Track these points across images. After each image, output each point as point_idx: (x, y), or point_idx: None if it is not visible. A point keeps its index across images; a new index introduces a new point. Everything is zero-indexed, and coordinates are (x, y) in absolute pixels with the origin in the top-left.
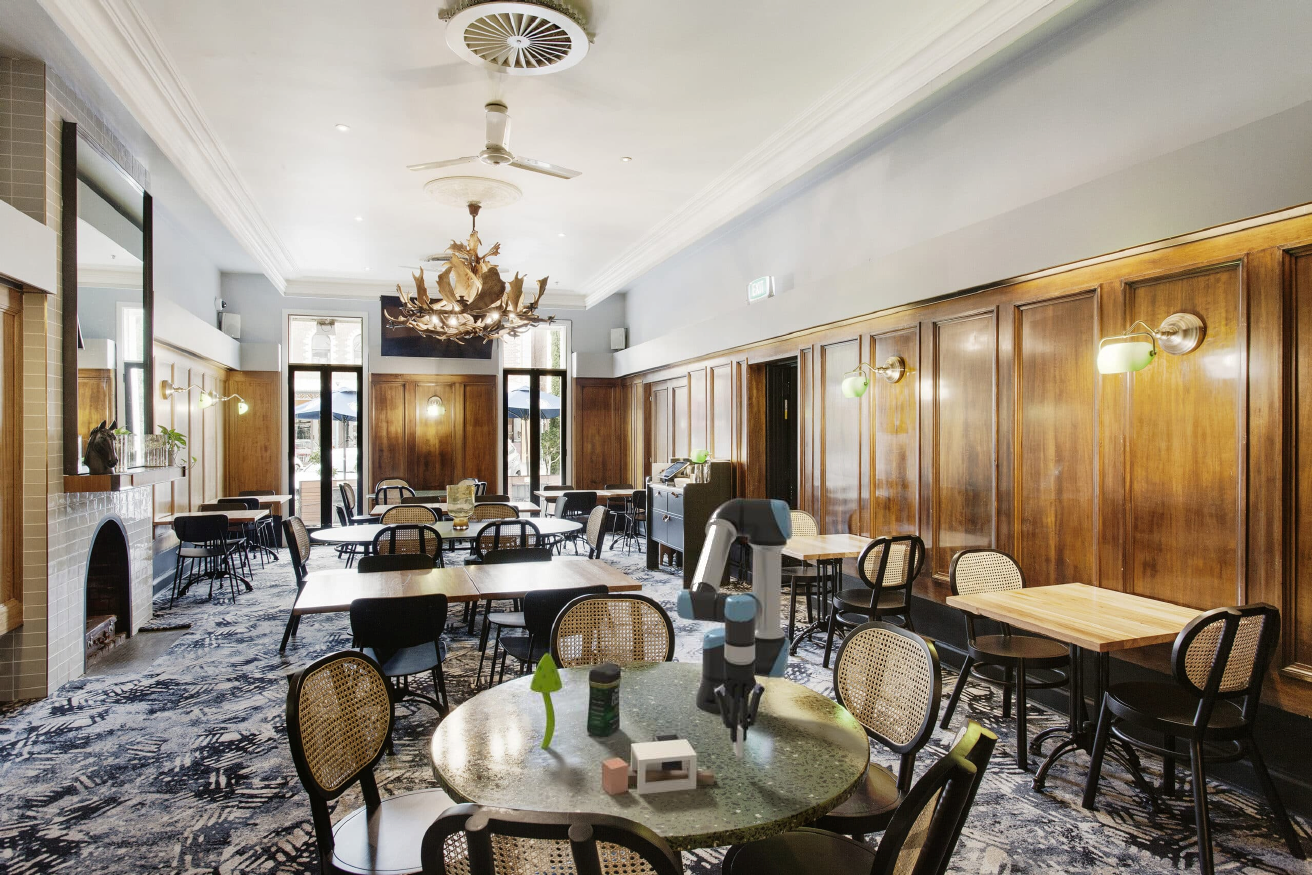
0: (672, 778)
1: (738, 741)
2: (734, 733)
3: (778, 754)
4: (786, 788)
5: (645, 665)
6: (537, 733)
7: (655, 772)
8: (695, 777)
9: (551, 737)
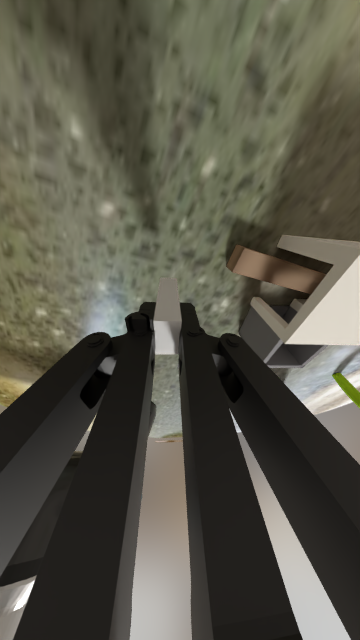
0: (313, 270)
1: (175, 297)
2: (188, 320)
3: (75, 320)
4: (58, 148)
5: (172, 435)
6: (316, 389)
7: None
8: (301, 238)
9: (344, 383)
